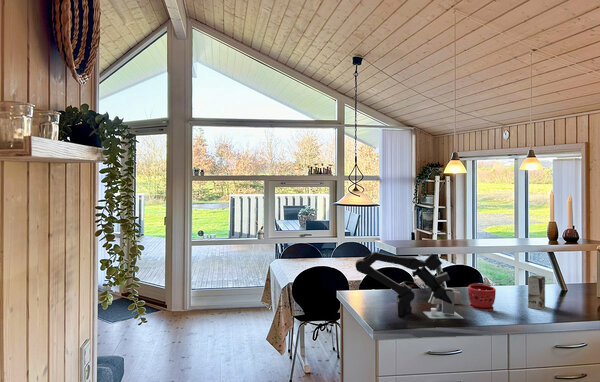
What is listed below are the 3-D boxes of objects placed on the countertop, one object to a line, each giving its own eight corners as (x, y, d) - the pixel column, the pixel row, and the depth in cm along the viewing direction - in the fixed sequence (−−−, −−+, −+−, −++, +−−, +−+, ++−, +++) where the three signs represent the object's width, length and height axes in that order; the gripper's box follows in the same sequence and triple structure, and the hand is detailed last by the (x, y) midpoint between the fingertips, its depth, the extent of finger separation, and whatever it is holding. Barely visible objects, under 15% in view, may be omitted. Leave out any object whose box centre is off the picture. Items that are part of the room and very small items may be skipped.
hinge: (455, 301, 234) (459, 286, 231) (460, 306, 229) (463, 290, 226) (427, 302, 231) (430, 286, 228) (431, 307, 227) (434, 291, 224)
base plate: (429, 321, 197) (429, 311, 197) (422, 314, 208) (422, 305, 208) (463, 321, 197) (463, 311, 197) (455, 314, 208) (455, 305, 208)
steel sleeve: (442, 313, 201) (442, 291, 201) (441, 310, 206) (441, 289, 206) (454, 314, 199) (454, 292, 199) (453, 311, 204) (453, 289, 204)
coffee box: (541, 310, 217) (541, 278, 218) (527, 307, 222) (527, 277, 222) (545, 306, 224) (545, 276, 224) (532, 304, 228) (532, 274, 229)
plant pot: (462, 308, 220) (462, 285, 220) (481, 305, 225) (481, 283, 225) (482, 315, 208) (482, 290, 208) (501, 312, 213) (501, 288, 213)
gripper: (440, 269, 195) (466, 295, 192) (438, 263, 213) (461, 286, 210) (423, 285, 197) (448, 311, 194) (422, 278, 215) (444, 301, 212)
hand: (451, 301), depth 202 cm, fingers closed on steel sleeve, 5 cm apart
